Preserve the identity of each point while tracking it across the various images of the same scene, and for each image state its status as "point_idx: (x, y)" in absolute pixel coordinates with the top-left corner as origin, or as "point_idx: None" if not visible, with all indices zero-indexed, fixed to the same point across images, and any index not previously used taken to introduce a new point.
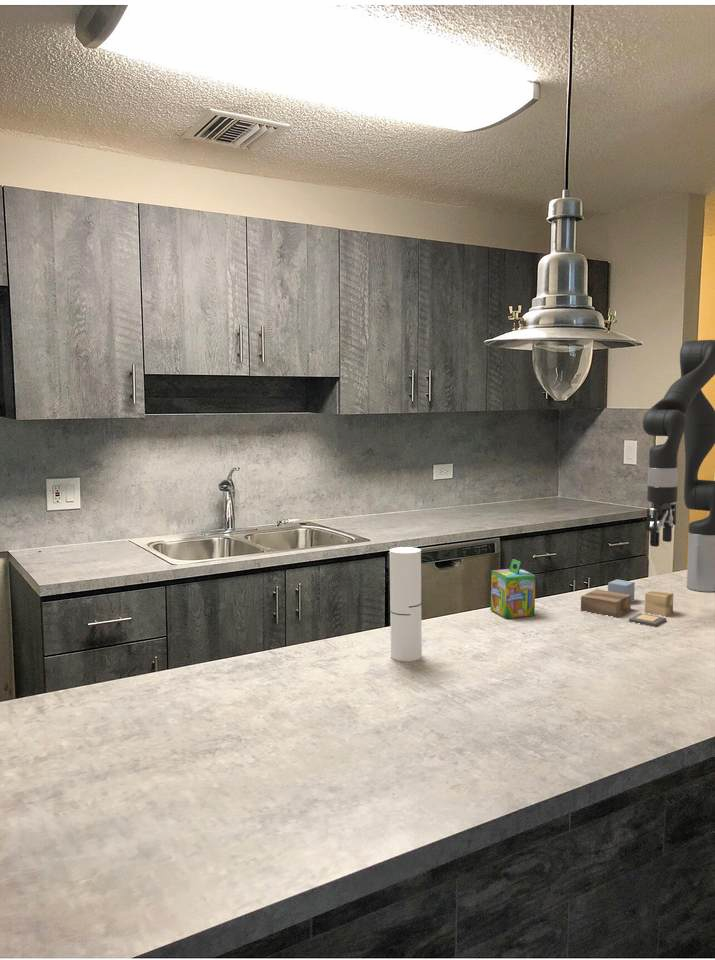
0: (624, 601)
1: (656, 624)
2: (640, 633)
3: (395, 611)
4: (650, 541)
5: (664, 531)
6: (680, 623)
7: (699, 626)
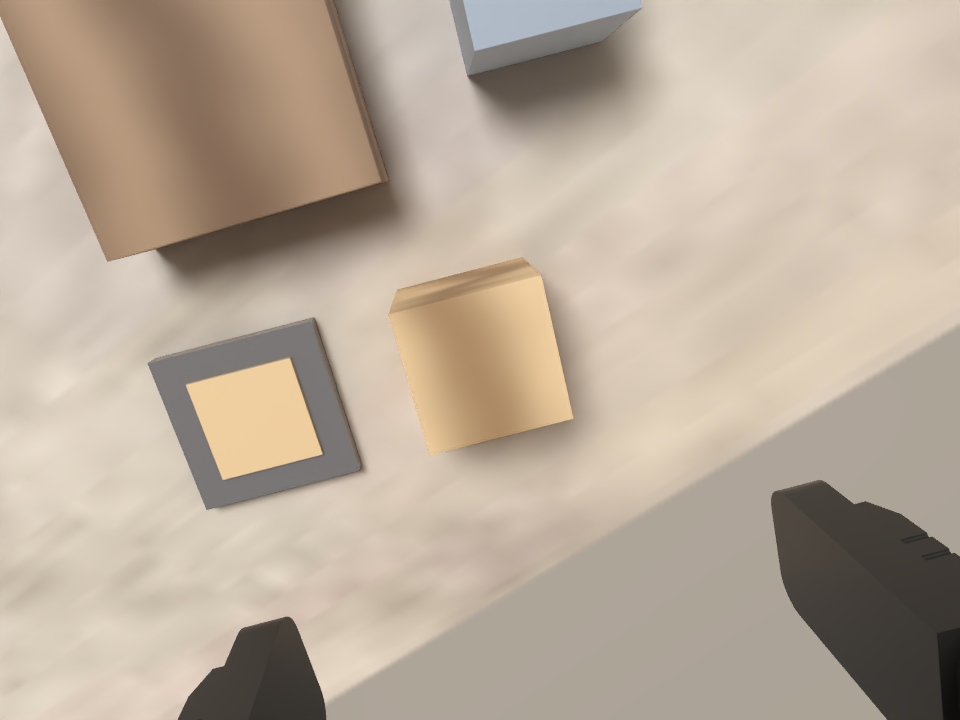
0: (266, 215)
1: (221, 504)
2: (47, 528)
3: None
4: (224, 675)
5: (881, 614)
6: (388, 530)
7: (423, 609)
